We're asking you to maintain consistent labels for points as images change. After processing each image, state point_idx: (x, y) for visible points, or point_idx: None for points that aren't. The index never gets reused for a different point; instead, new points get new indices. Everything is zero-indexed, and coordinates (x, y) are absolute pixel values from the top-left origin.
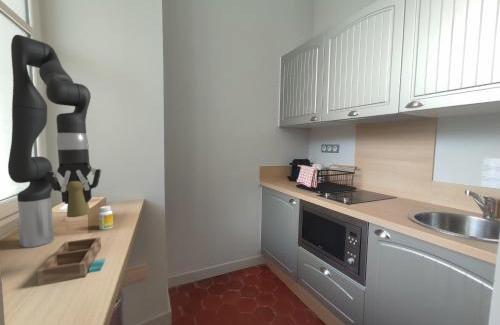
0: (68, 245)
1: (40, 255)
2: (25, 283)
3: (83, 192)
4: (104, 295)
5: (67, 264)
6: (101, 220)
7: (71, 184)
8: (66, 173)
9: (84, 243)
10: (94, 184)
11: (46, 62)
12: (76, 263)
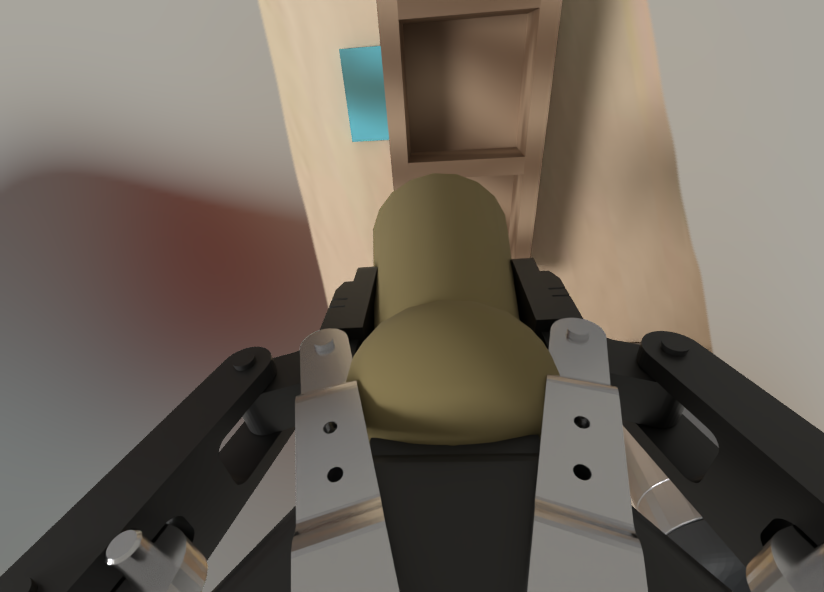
0: None
1: (596, 272)
2: (598, 35)
3: (377, 320)
4: None
5: (451, 14)
6: None
7: (480, 348)
8: (619, 584)
9: None
10: (229, 378)
11: None
12: (413, 10)
